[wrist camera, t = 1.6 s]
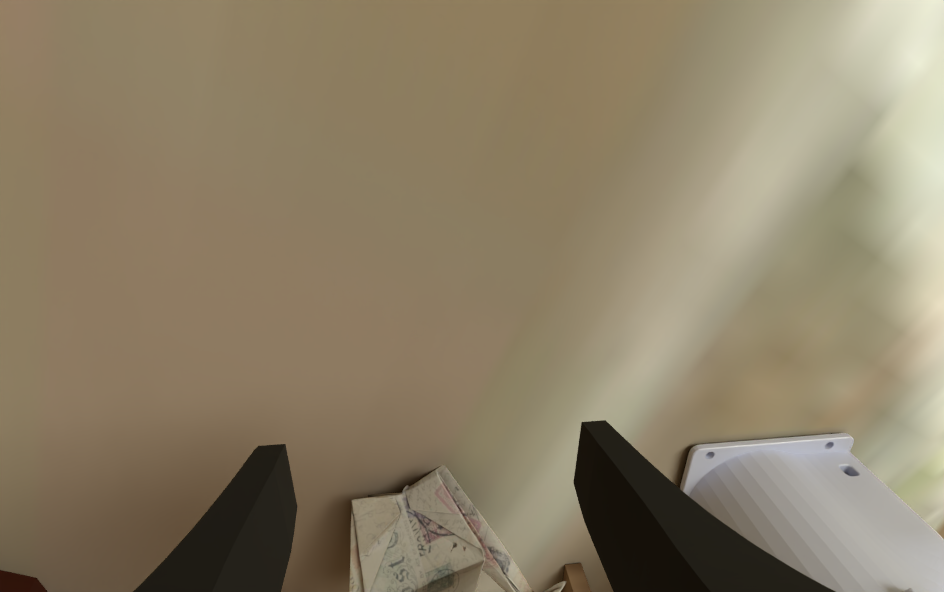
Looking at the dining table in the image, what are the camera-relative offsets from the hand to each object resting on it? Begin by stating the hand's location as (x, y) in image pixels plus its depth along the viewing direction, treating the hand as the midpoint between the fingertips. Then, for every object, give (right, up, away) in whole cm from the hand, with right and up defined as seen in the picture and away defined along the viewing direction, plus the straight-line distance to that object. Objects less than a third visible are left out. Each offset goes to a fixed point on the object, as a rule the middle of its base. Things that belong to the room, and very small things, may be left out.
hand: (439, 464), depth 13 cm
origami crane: (-1, -8, +16) cm, 18 cm away
